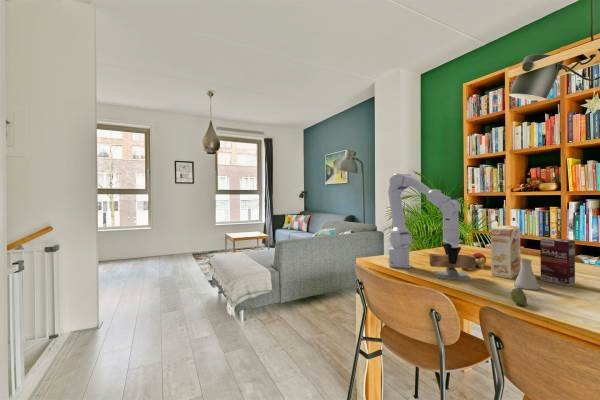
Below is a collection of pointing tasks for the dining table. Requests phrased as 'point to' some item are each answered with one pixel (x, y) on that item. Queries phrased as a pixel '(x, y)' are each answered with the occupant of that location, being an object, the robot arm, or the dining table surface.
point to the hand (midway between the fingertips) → (451, 262)
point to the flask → (526, 276)
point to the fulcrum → (452, 274)
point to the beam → (461, 262)
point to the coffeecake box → (505, 251)
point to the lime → (519, 296)
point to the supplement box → (557, 261)
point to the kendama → (478, 261)
